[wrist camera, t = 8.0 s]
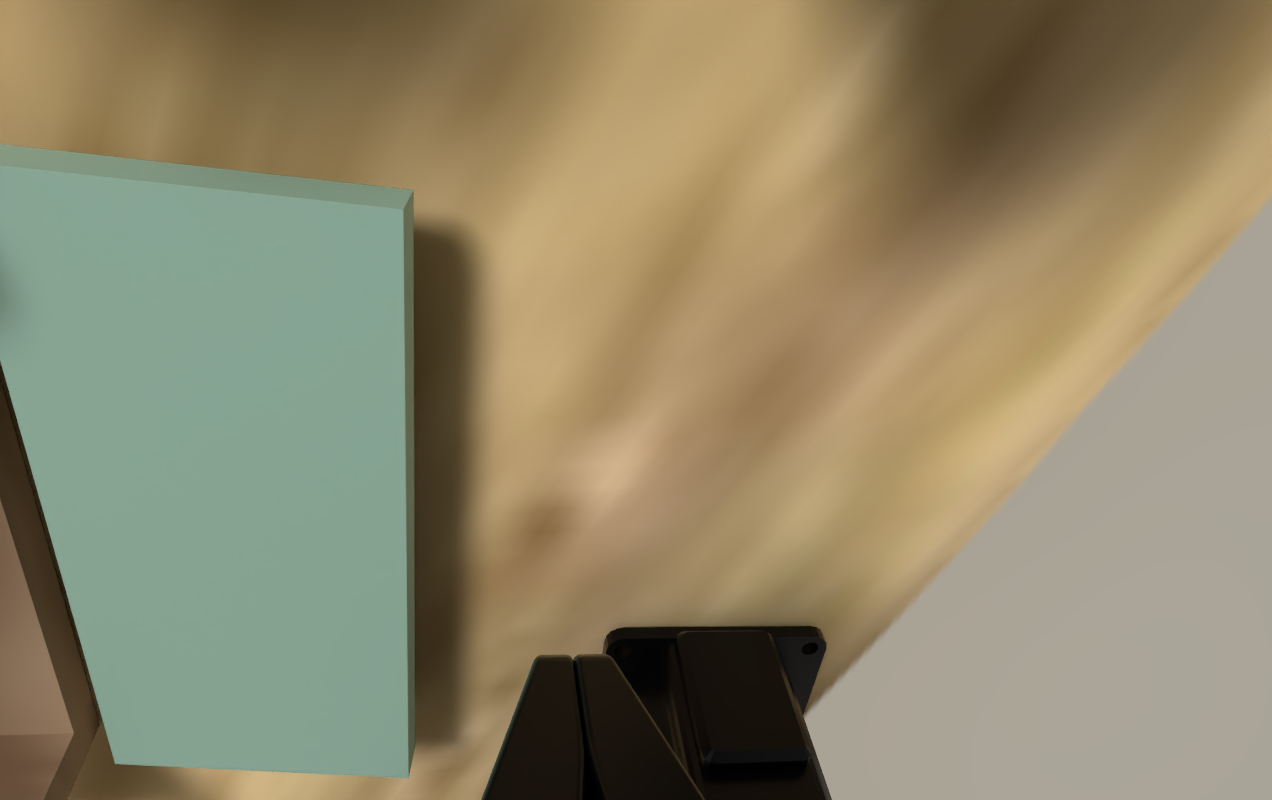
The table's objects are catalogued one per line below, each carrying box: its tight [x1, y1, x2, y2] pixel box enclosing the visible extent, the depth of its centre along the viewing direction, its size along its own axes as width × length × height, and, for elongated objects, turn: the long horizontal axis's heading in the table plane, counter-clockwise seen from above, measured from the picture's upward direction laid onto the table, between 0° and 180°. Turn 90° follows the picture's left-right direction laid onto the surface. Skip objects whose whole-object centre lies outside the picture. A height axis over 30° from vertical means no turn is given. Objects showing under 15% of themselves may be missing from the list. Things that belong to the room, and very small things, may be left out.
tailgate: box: [0, 144, 415, 778], centre depth 20 cm, size 1×16×8 cm
